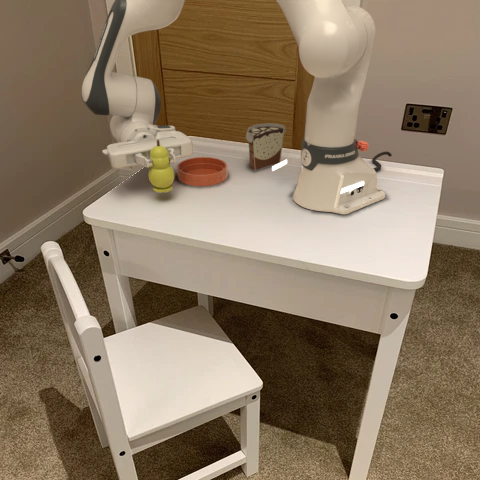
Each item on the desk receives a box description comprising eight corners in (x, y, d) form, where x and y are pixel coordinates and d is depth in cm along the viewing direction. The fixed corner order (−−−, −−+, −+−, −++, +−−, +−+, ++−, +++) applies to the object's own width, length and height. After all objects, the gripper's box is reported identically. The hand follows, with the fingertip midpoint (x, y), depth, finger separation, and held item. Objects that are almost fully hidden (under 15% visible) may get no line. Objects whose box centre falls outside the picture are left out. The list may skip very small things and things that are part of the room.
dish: (214, 164, 136) (214, 153, 134) (235, 181, 127) (235, 169, 125) (170, 173, 132) (169, 162, 130) (189, 190, 123) (188, 179, 121)
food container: (269, 155, 142) (270, 119, 135) (284, 162, 138) (286, 125, 132) (236, 166, 135) (236, 128, 129) (250, 172, 132) (251, 134, 125)
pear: (170, 181, 119) (165, 134, 112) (179, 191, 115) (175, 142, 108) (146, 186, 117) (140, 138, 110) (155, 195, 113) (149, 146, 106)
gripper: (97, 136, 115) (114, 155, 106) (179, 124, 123) (201, 141, 113) (102, 163, 119) (118, 183, 110) (180, 149, 127) (202, 167, 117)
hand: (161, 161), depth 111 cm, fingers closed on pear, 4 cm apart
